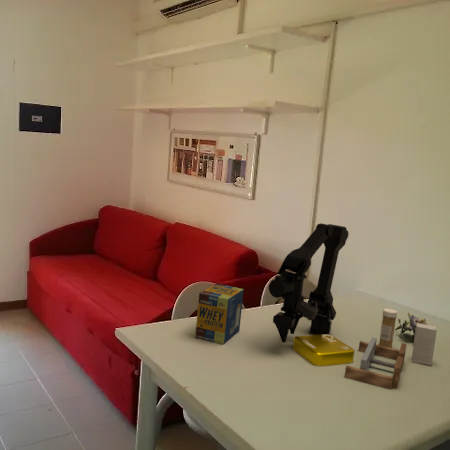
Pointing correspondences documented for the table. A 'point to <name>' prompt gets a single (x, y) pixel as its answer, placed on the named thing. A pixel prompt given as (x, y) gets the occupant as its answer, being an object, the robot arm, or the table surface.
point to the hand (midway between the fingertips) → (288, 338)
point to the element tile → (323, 350)
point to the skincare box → (424, 344)
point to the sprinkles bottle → (387, 327)
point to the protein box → (219, 313)
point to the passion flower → (410, 324)
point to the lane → (376, 377)
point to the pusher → (369, 355)
